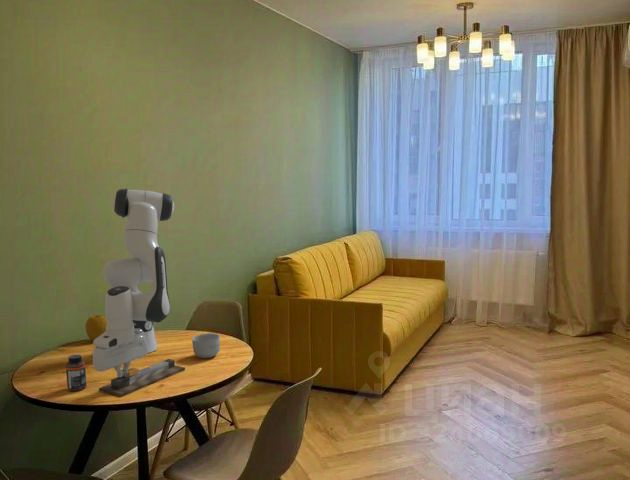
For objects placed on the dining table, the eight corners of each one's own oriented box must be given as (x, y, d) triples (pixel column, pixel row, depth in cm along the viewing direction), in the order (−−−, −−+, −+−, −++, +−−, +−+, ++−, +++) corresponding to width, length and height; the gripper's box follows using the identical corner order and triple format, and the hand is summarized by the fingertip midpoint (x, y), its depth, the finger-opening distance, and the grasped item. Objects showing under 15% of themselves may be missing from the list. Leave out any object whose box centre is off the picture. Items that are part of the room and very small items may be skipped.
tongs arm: (129, 381, 185) (129, 377, 185) (123, 379, 187) (123, 376, 186) (174, 363, 203) (174, 360, 203) (168, 362, 205) (168, 358, 205)
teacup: (214, 361, 212) (213, 340, 211) (188, 359, 214) (187, 339, 214) (227, 350, 226) (226, 331, 225) (202, 349, 228) (201, 330, 227)
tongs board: (121, 396, 177) (121, 385, 177) (99, 391, 183) (98, 379, 182) (184, 369, 202) (184, 359, 202) (163, 365, 208) (162, 355, 207)
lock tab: (129, 376, 185) (129, 372, 185) (123, 375, 186) (123, 371, 186) (138, 372, 188) (138, 368, 188) (133, 371, 190) (132, 367, 190)
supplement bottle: (71, 385, 188) (69, 353, 187) (89, 385, 188) (87, 353, 187) (64, 392, 182) (62, 359, 181) (83, 391, 183) (81, 358, 181)
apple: (113, 337, 248) (112, 312, 247) (103, 343, 238) (101, 317, 237) (93, 337, 249) (91, 311, 248) (81, 343, 239) (80, 317, 238)
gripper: (138, 327, 194) (139, 365, 195) (88, 342, 176) (91, 384, 177) (151, 329, 190) (152, 368, 192) (101, 344, 173) (104, 387, 174)
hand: (122, 376), depth 184 cm, fingers closed
